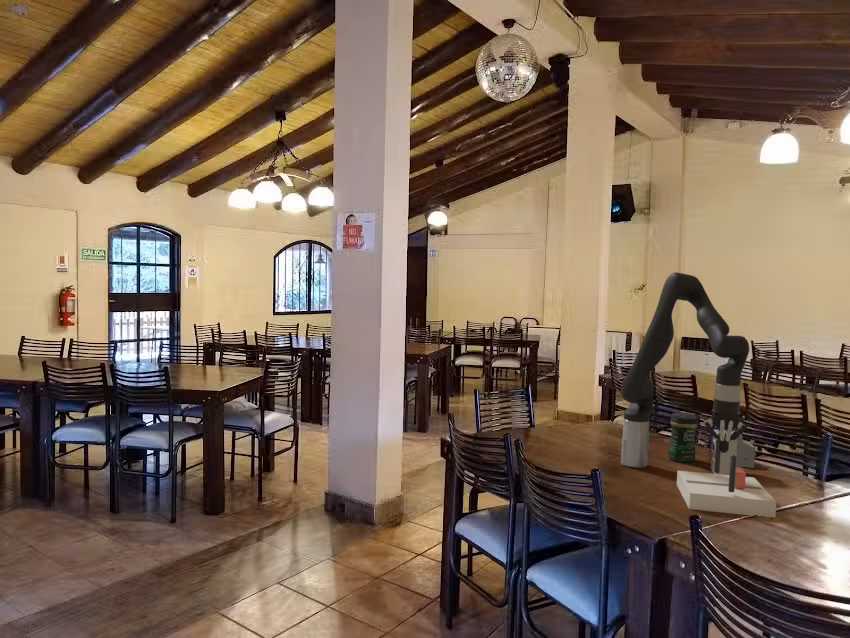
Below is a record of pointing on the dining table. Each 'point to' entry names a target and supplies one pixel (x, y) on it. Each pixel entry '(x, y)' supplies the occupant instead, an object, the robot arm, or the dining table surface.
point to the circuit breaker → (740, 450)
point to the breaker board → (724, 494)
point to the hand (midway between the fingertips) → (723, 452)
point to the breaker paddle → (740, 478)
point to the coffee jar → (682, 437)
